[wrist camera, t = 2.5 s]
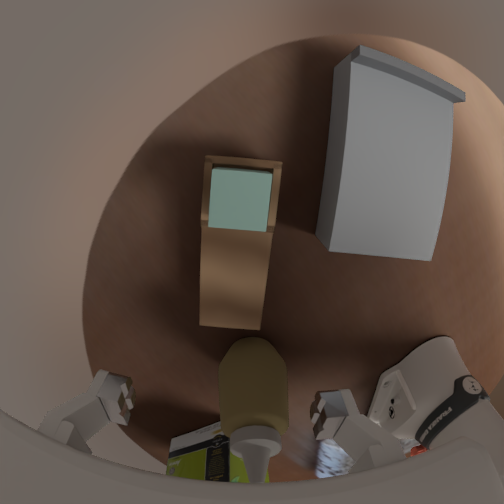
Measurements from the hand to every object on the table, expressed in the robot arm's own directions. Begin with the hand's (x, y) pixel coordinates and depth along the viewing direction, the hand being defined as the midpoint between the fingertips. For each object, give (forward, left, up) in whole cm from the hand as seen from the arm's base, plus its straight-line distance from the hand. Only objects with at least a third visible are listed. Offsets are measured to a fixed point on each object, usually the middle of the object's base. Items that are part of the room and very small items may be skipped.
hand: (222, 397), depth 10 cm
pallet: (+1, 0, -19) cm, 19 cm away
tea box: (-37, +1, -19) cm, 41 cm away
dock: (+11, -14, -19) cm, 26 cm away
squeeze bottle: (-14, -3, -19) cm, 24 cm away
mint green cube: (+6, 0, -15) cm, 16 cm away
